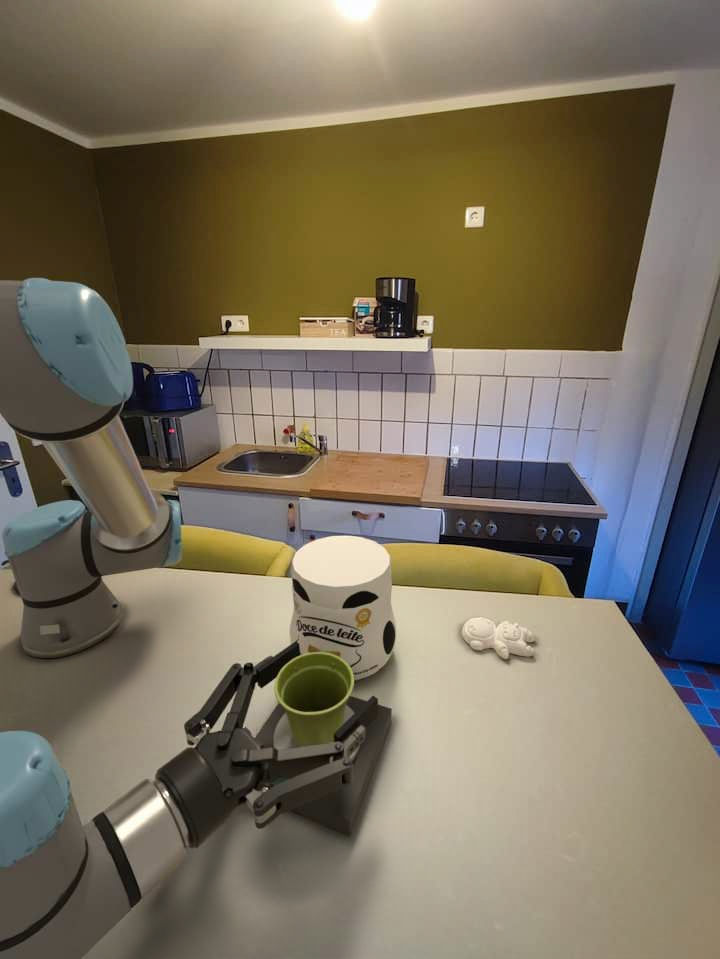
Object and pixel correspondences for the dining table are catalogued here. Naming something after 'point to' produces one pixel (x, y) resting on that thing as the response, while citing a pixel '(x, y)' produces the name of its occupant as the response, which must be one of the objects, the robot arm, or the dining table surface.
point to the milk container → (344, 602)
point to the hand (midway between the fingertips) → (334, 675)
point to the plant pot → (314, 696)
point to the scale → (346, 802)
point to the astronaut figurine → (498, 637)
